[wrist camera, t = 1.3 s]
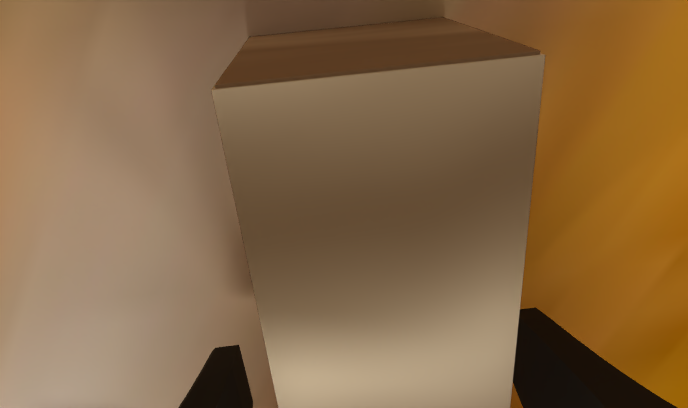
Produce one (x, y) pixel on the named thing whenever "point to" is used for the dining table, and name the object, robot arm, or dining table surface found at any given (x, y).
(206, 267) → the dining table surface
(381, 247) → the rail
